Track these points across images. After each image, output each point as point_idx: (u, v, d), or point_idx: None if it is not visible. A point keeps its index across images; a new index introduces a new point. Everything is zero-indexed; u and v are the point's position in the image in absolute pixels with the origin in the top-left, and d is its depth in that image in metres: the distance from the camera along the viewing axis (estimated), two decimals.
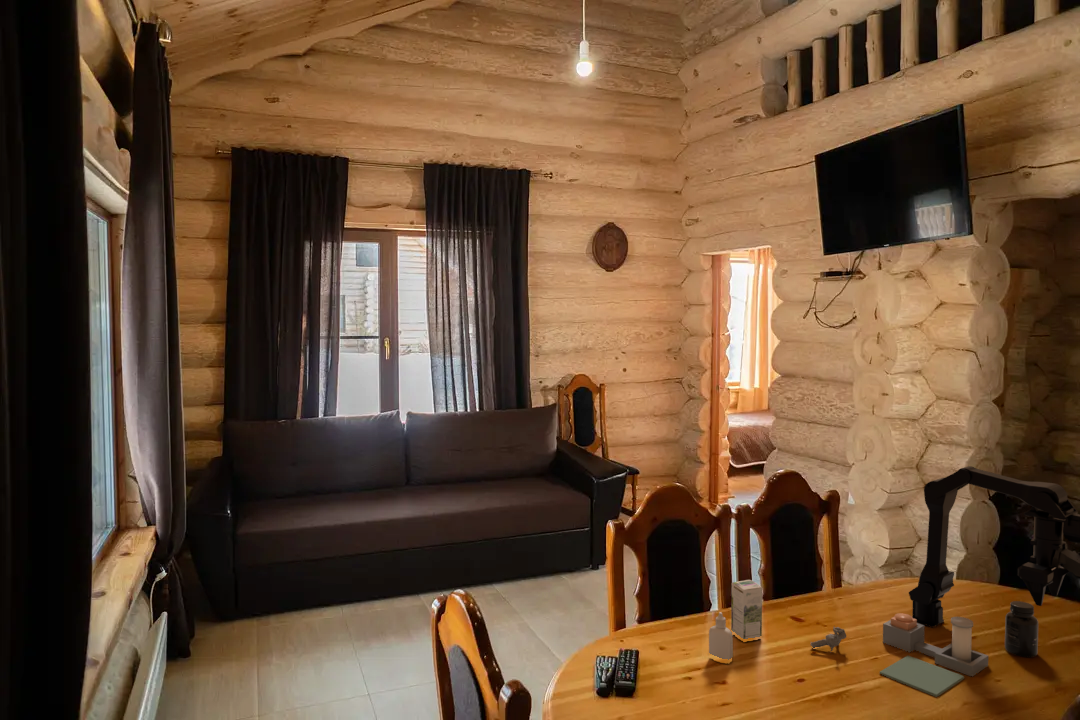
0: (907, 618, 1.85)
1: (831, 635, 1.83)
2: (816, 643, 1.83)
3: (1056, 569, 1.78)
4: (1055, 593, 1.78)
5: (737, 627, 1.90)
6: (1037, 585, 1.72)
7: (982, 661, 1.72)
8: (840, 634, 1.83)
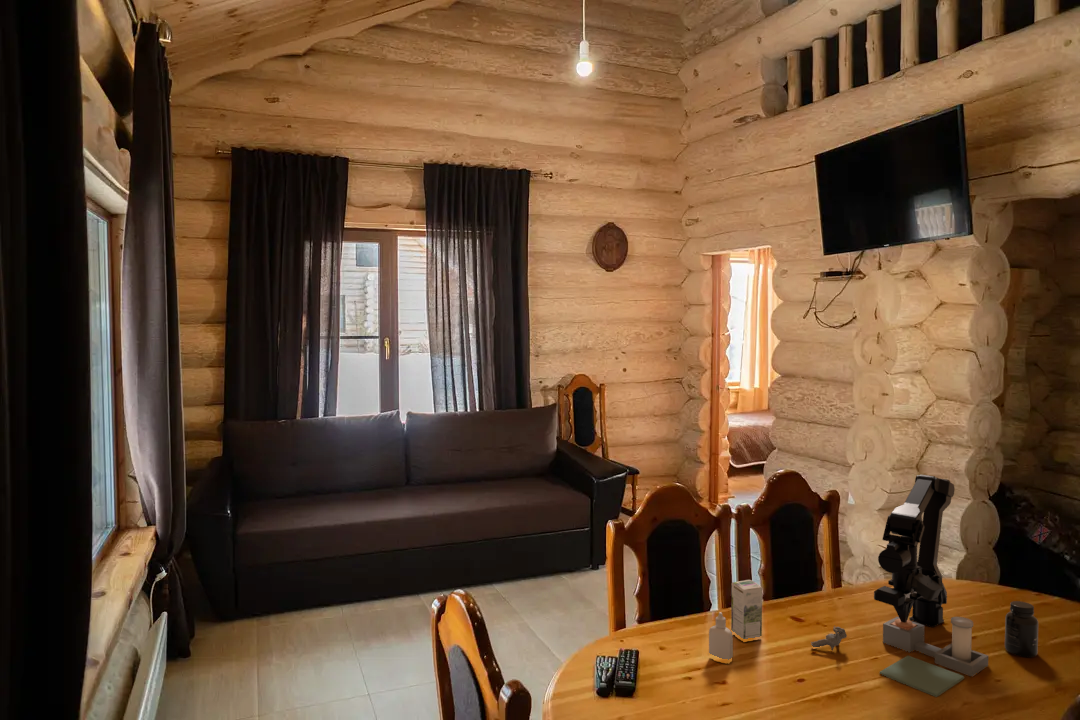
0: (907, 623, 1.85)
1: (831, 635, 1.83)
2: (816, 642, 1.83)
3: None
4: None
5: (737, 627, 1.90)
6: None
7: (982, 661, 1.72)
8: (840, 634, 1.83)
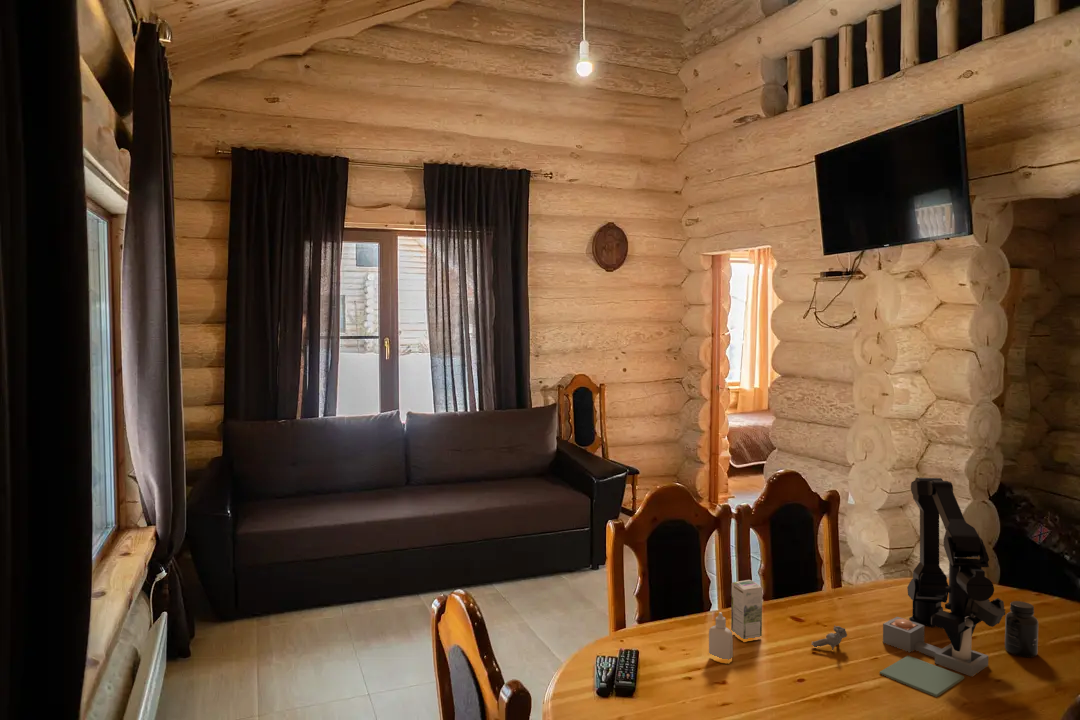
0: (907, 624, 1.85)
1: (832, 634, 1.83)
2: (817, 642, 1.83)
3: None
4: None
5: (737, 627, 1.90)
6: None
7: (982, 661, 1.72)
8: (841, 633, 1.83)
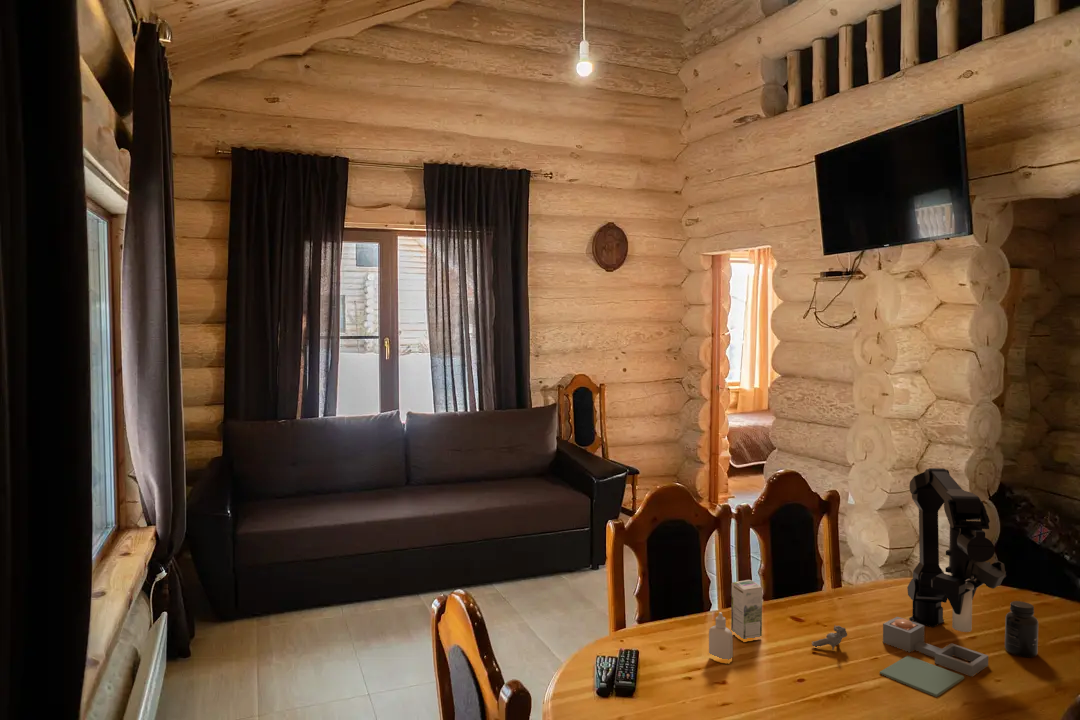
0: (907, 624, 1.85)
1: (832, 634, 1.84)
2: (817, 642, 1.83)
3: None
4: None
5: (737, 627, 1.90)
6: (955, 594, 1.72)
7: (982, 661, 1.72)
8: (841, 633, 1.83)
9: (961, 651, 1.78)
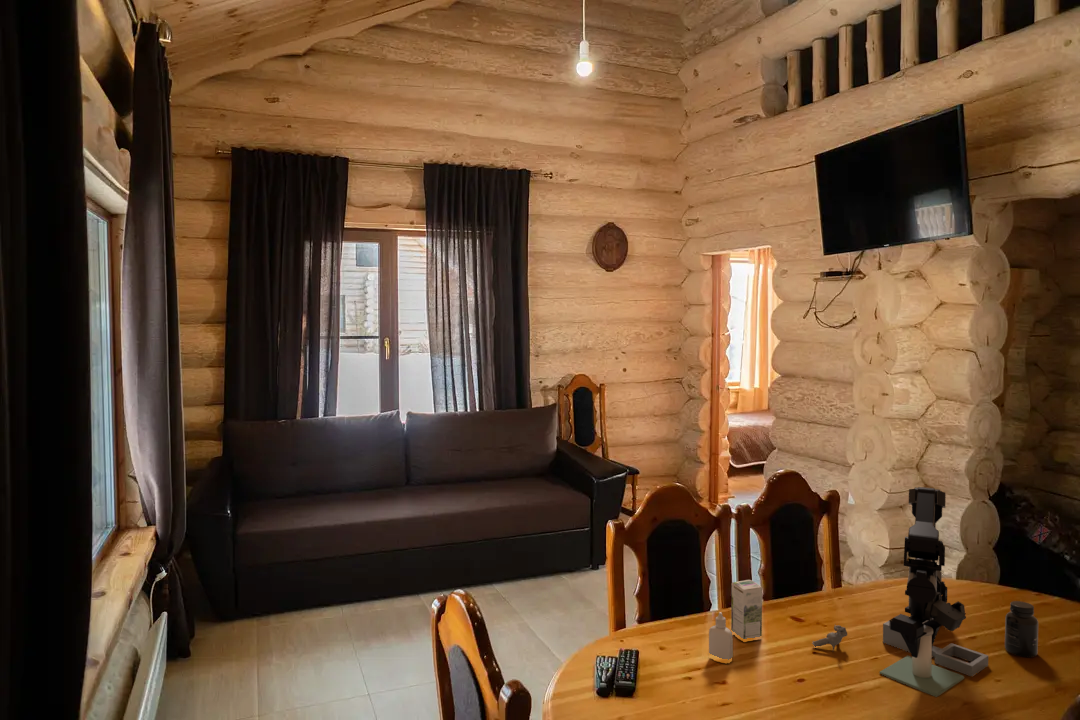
0: None
1: (832, 633, 1.84)
2: (818, 641, 1.83)
3: (930, 621, 1.71)
4: None
5: (737, 627, 1.90)
6: (912, 636, 1.66)
7: (982, 661, 1.72)
8: (841, 632, 1.84)
9: (961, 651, 1.78)
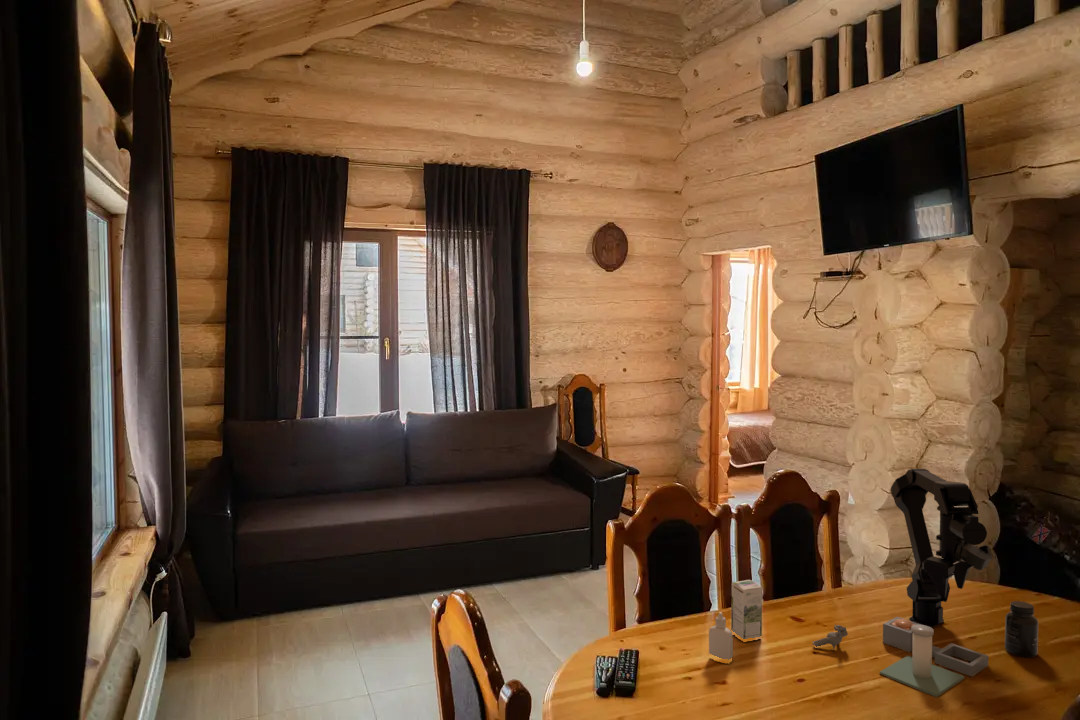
0: (907, 624, 1.85)
1: (833, 633, 1.84)
2: (818, 641, 1.84)
3: (962, 563, 1.88)
4: (961, 586, 1.88)
5: (737, 627, 1.90)
6: (941, 578, 1.82)
7: (982, 661, 1.72)
8: (841, 632, 1.84)
9: (961, 651, 1.78)
